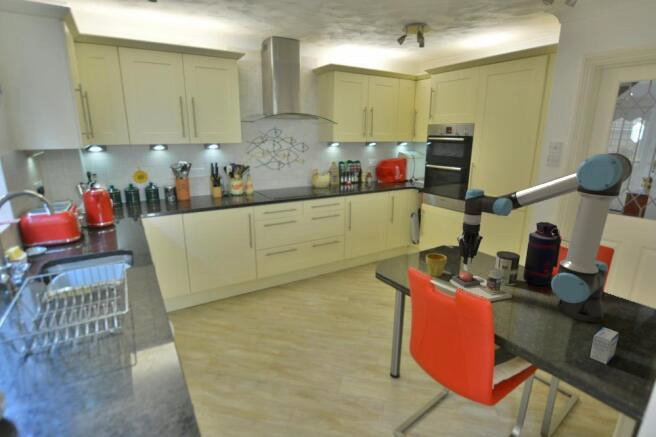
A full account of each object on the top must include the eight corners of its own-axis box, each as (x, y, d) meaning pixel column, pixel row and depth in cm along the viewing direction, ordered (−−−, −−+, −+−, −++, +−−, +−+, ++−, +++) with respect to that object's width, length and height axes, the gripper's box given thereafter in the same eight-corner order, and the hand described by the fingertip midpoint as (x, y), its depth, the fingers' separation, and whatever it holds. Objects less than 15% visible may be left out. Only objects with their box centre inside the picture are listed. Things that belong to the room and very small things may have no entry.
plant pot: (425, 277, 173) (426, 259, 171) (423, 269, 183) (425, 252, 181) (446, 279, 172) (448, 260, 169) (443, 271, 182) (445, 253, 179)
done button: (475, 281, 162) (475, 276, 161) (464, 282, 160) (465, 277, 160) (466, 276, 167) (467, 271, 167) (456, 277, 166) (457, 273, 165)
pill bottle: (483, 288, 157) (485, 268, 154) (491, 286, 159) (493, 266, 157) (494, 293, 152) (496, 273, 149) (502, 291, 155) (505, 270, 152)
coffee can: (512, 277, 173) (516, 251, 170) (519, 286, 163) (523, 258, 160) (490, 276, 175) (494, 250, 172) (496, 284, 165) (499, 257, 162)
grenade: (532, 287, 162) (541, 227, 155) (517, 277, 174) (525, 220, 166) (560, 287, 162) (571, 226, 155) (544, 276, 174) (553, 220, 167)
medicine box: (606, 365, 108) (611, 341, 106) (589, 357, 111) (594, 334, 109) (614, 355, 112) (619, 332, 110) (597, 349, 116) (602, 326, 114)
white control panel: (511, 297, 152) (512, 290, 151) (482, 302, 147) (483, 295, 146) (476, 278, 172) (477, 271, 172) (449, 282, 168) (450, 275, 167)
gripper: (477, 219, 162) (472, 265, 168) (454, 221, 158) (450, 268, 164) (489, 223, 155) (483, 271, 161) (465, 225, 151) (460, 274, 157)
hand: (466, 270), depth 163 cm, fingers closed
